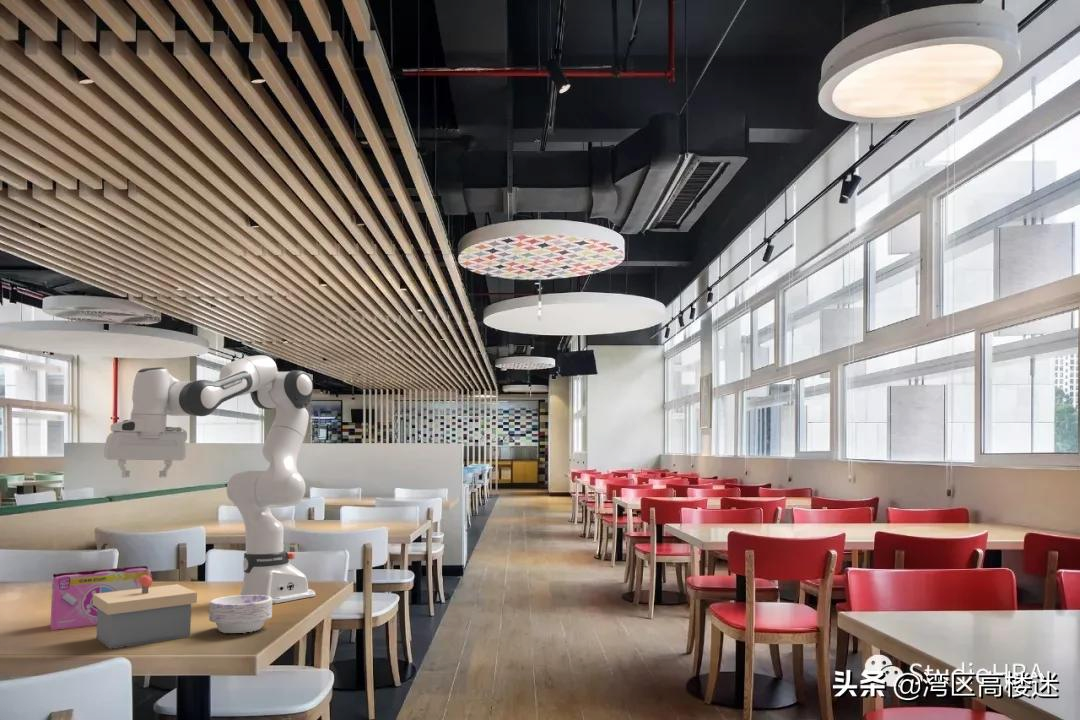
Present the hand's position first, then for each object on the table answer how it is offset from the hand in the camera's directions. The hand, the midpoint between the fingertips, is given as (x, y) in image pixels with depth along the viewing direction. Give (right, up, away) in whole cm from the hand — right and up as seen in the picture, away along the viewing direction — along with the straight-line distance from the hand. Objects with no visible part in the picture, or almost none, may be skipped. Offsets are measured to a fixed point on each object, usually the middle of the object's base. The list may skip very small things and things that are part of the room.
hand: (144, 477), depth 219 cm
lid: (+8, -29, -17) cm, 35 cm away
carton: (+8, -37, -18) cm, 42 cm away
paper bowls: (+30, -38, -11) cm, 49 cm away
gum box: (-12, -39, 0) cm, 41 cm away
